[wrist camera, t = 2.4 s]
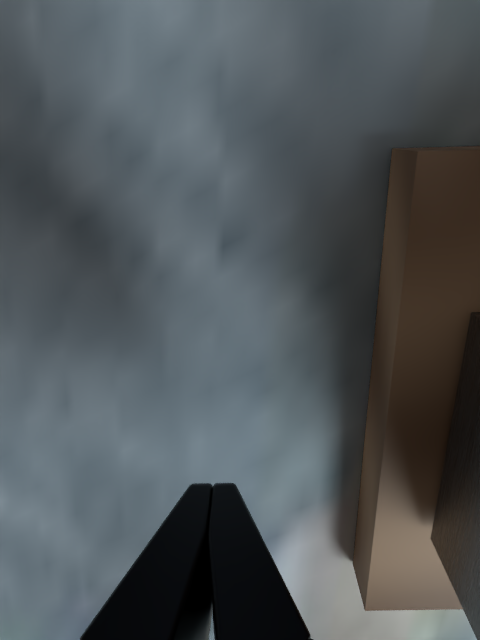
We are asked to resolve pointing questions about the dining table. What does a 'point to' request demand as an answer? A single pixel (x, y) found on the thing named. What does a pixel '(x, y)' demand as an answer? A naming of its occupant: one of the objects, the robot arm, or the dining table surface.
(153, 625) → the robot arm
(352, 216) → the dining table surface
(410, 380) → the gauge base
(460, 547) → the grey block with rod
